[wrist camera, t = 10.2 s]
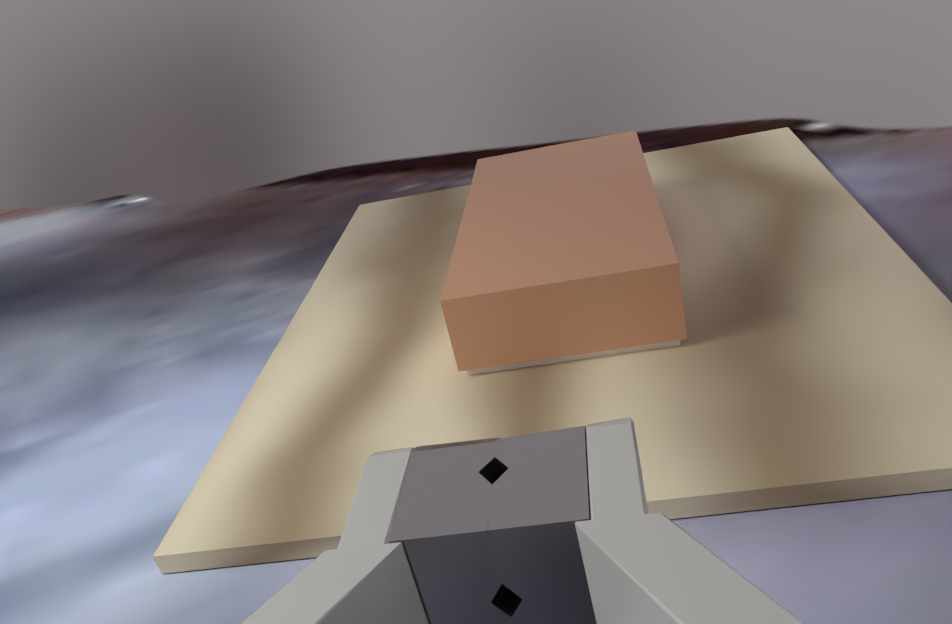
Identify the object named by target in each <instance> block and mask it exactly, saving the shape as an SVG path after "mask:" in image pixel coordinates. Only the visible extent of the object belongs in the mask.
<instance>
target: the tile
mask: <svg viewBox="0 0 952 624" xmlns="http://www.w3.org/2000/svg"><path fill="white" fill-rule="evenodd" d="M440 303H441V307H442V310H443V314H444V318H445V322H446V326H447V329H448V333H449V337H450V341H451V345H452V349H453V352H454V356H455V360H456V364H457V368H458V372H459V371H466V372H467V375H474V374H481V373H488V372H495V371H502V370H509V369H516V368H523V367H530V366H537V365H544V364H551V363H558V362H566V361H573V360H580V359H587V358H594V357H601V356H608V355H615V354H622V353H629V352H636V351H643V350H650V349H657V348H664V347H671V346H678V345H681V343H680V340H683V339H687V331H686V322H685V314H684V305H683V297H682V288H681V280H680V271H679V263H678V260H677V257H676V254H675V251H674V247H673V244H672V241H671V238H670V235H669V232H668V229H667V226H666V223H665V220H664V216H663V213H662V210H661V207H660V204H659V201H658V198H657V195H656V192H655V189H654V186H653V182H652V179H651V176H650V173H649V170H648V167H647V164H646V161H645V158H644V155H643V151H642V148H641V145H640V142H639V139H638V136H637V133H636V130H633V131H628V132H623V133H617V134H612V135H606V136H601V137H596V138H590V139H585V140H580V141H574V142H569V143H564V144H558V145H553V146H547V147H542V148H537V149H531V150H526V151H521V152H515V153H510V154H505V155H499V156H494V157H489V158H483V159H478V160H477V164H476V168H475V171H474V175H473V179H472V183H471V186H470V190H469V194H468V198H467V201H466V205H465V209H464V213H463V216H462V220H461V224H460V228H459V231H458V235H457V239H456V243H455V246H454V250H453V254H452V258H451V262H450V265H449V269H448V273H447V277H446V280H445V284H444V288H443V292H442V295H441V299H440Z"/></svg>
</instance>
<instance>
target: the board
mask: <svg viewBox="0 0 952 624" xmlns="http://www.w3.org/2000/svg"><path fill="white" fill-rule="evenodd" d="M643 155H644V158H645V161H646V164H647V167H648V170H649V173H650V176H651V179H652V182H653V186H654V189H655V192H656V195H657V198H658V201H659V204H660V207H661V210H662V213H663V216H664V220H665V223H666V226H667V229H668V232H669V235H670V238H671V241H672V244H673V247H674V251H675V254H676V257H677V260H678V263H679V271H680V280H681V288H682V297H683V305H684V314H685V322H686V331H687V339H683V340H680V343H681V345H678V346H671V347H664V348H657V349H650V350H643V351H636V352H629V353H622V354H615V355H608V356H601V357H594V358H587V359H580V360H573V361H566V362H558V363H551V364H544V365H537V366H530V367H523V368H516V369H509V370H502V371H495V372H488V373H481V374H474V375H467V372H466V371H459V372H458V368H457V364H456V360H455V356H454V352H453V349H452V345H451V341H450V337H449V333H448V329H447V326H446V322H445V318H444V314H443V310H442V307H441V303H440V299H441V295H442V292H443V288H444V284H445V280H446V277H447V273H448V269H449V265H450V262H451V258H452V254H453V250H454V246H455V243H456V239H457V235H458V231H459V228H460V224H461V220H462V216H463V213H464V209H465V205H466V201H467V198H468V194H469V190H470V186H471V185H466V186H461V187H455V188H450V189H444V190H439V191H433V192H428V193H422V194H417V195H411V196H406V197H400V198H395V199H389V200H384V201H378V202H373V203H367V204H362V205H359V207H358V209H357V210H356V212H355V214H354V215H353V217H352V219H351V220H350V222H349V224H348V226H347V227H346V229H345V231H344V232H343V234H342V236H341V237H340V239H339V241H338V243H337V244H336V246H335V248H334V249H333V251H332V253H331V254H330V256H329V258H328V260H327V261H326V263H325V265H324V266H323V268H322V270H321V272H320V273H319V275H318V277H317V278H316V280H315V282H314V283H313V285H312V287H311V289H310V290H309V292H308V294H307V295H306V297H305V299H304V300H303V302H302V304H301V306H300V307H299V309H298V311H297V312H296V314H295V316H294V317H293V319H292V321H291V323H290V324H289V326H288V328H287V329H286V331H285V333H284V334H283V336H282V338H281V340H280V341H279V343H278V345H277V346H276V348H275V350H274V351H273V353H272V355H271V357H270V358H269V360H268V362H267V363H266V365H265V367H264V368H263V370H262V372H261V374H260V375H259V377H258V379H257V380H256V382H255V384H254V385H253V387H252V389H251V391H250V392H249V394H248V396H247V397H246V399H245V401H244V403H243V404H242V406H241V408H240V409H239V411H238V413H237V414H236V416H235V418H234V420H233V421H232V423H231V425H230V426H229V428H228V430H227V431H226V433H225V435H224V437H223V438H222V440H221V442H220V443H219V445H218V447H217V448H216V450H215V452H214V454H213V455H212V457H211V459H210V460H209V462H208V464H207V465H206V467H205V469H204V471H203V472H202V474H201V476H200V477H199V479H198V481H197V482H196V484H195V486H194V488H193V489H192V491H191V493H190V494H189V496H188V498H187V499H186V501H185V503H184V505H183V506H182V508H181V510H180V511H179V513H178V515H177V516H176V518H175V520H174V522H173V523H172V525H171V527H170V528H169V530H168V532H167V534H166V535H165V537H164V539H163V540H162V542H161V544H160V545H159V547H158V549H157V551H156V552H155V554H154V556H153V558H154V560H155V562H156V564H157V566H158V568H159V570H160V572H161V574H164V573H174V572H183V571H192V570H202V569H211V568H220V567H230V566H239V565H248V564H258V563H267V562H276V561H286V560H295V559H304V558H314V557H318V556H319V555H321V554H322V553H323V552H324V551H327V550H335V549H338V546H339V543H340V540H341V537H342V534H343V531H344V527H345V524H346V521H347V518H348V515H349V512H350V509H351V506H352V503H353V500H354V497H355V494H356V491H357V488H358V485H359V482H360V479H361V475H362V472H363V469H364V466H365V463H366V460H367V459H368V457H369V456H370V455H372V454H373V453H374V452H379V451H387V450H394V449H401V448H408V447H412V448H416V447H418V446H426V445H435V444H444V443H453V442H462V441H471V440H480V439H489V438H498V437H500V438H506V437H513V436H519V435H526V434H533V433H539V432H546V431H553V430H559V429H566V428H573V427H579V426H587V424H593V423H599V422H605V421H611V420H616V419H622V418H628V417H630V418H631V419H632V420H633V421H634V426H635V433H636V439H637V445H638V451H639V457H640V463H641V469H642V475H643V481H644V488H645V494H646V500H647V506H648V512H649V514H651V513H663V514H664V515H665V516H667V517H668V518H669V519H677V518H686V517H695V516H705V515H714V514H723V513H733V512H742V511H751V510H761V509H770V508H779V507H789V506H798V505H807V504H817V503H826V502H835V501H845V500H854V499H863V498H872V497H882V496H891V495H900V494H910V493H919V492H928V491H938V490H947V489H952V303H951V302H950V301H949V299H948V298H947V297H946V296H945V295H944V294H943V293H942V292H941V291H940V290H939V289H938V288H937V287H936V286H935V284H934V283H933V282H932V281H931V280H930V279H929V278H928V277H927V276H926V275H925V274H924V273H923V272H922V270H921V269H920V268H919V267H918V266H917V265H916V264H915V263H914V262H913V261H912V260H911V259H910V258H909V257H908V255H907V254H906V253H905V252H904V251H903V250H902V249H901V248H900V247H899V246H898V245H897V244H896V243H895V242H894V240H893V239H892V238H891V237H890V236H889V235H888V234H887V233H886V232H885V231H884V230H883V229H882V228H881V227H880V225H879V224H878V223H877V222H876V221H875V220H874V219H873V218H872V217H871V216H870V215H869V214H868V213H867V211H866V210H865V209H864V208H863V207H862V206H861V205H860V204H859V203H858V202H857V201H856V200H855V199H854V198H853V196H852V195H851V194H850V193H849V192H848V191H847V190H846V189H845V188H844V187H843V186H842V185H841V184H840V183H839V181H838V180H837V179H836V178H835V177H834V176H833V175H832V174H831V173H830V172H829V171H828V170H827V169H826V167H825V166H824V165H823V164H822V163H821V162H820V161H819V160H818V159H817V158H816V157H815V156H814V155H813V154H812V152H811V151H810V150H809V149H808V148H807V147H806V146H805V145H804V144H803V143H802V142H801V141H800V140H799V139H798V137H797V136H796V135H795V134H794V133H793V132H792V131H791V130H790V129H789V128H788V127H786V128H780V129H775V130H769V131H764V132H758V133H753V134H747V135H742V136H736V137H731V138H725V139H720V140H714V141H709V142H703V143H698V144H692V145H687V146H681V147H676V148H670V149H665V150H659V151H654V152H648V153H643Z"/></svg>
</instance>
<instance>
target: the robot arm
mask: <svg viewBox="0 0 952 624" xmlns="http://www.w3.org/2000/svg"><path fill="white" fill-rule="evenodd" d="M241 624H803V623H802V622H800V621H799V620H798V619H797V618H795V617H794V616H793V615H791V614H790V613H789V612H788V611H786V610H785V609H784V608H783V607H781V606H780V605H779V604H777V603H776V602H775V601H774V600H772V599H771V598H770V597H769V596H767V595H766V594H765V593H763V592H762V591H761V590H760V589H758V588H757V587H756V586H754V585H753V584H752V583H751V582H749V581H748V580H747V579H746V578H744V577H743V576H742V575H740V574H739V573H738V572H737V571H735V570H734V569H733V568H732V567H730V566H729V565H728V564H726V563H725V562H724V561H723V560H721V559H720V558H719V557H718V556H716V555H715V554H714V553H712V552H711V551H710V550H709V549H707V548H706V547H705V546H703V545H702V544H701V543H700V542H698V541H697V540H696V539H695V538H693V537H692V536H691V535H689V534H688V533H687V532H686V531H684V530H683V529H682V528H681V527H679V526H678V525H677V524H675V523H674V522H673V521H672V520H670V519H669V518H668V517H667V516H665V515H664V514H663V513H651V514H649V512H648V506H647V500H646V494H645V488H644V481H643V475H642V469H641V463H640V457H639V451H638V445H637V439H636V433H635V426H634V421H633V420H632V419H631V418H630V417H628V418H622V419H616V420H611V421H605V422H599V423H593V424H587V426H579V427H573V428H566V429H559V430H553V431H546V432H539V433H533V434H526V435H519V436H513V437H506V438H500V437H498V438H489V439H480V440H471V441H462V442H453V443H444V444H435V445H426V446H418V447H416V448H412V447H408V448H401V449H394V450H387V451H379V452H374V453H373V454H372V455H370V456H369V457H368V459H367V460H366V463H365V466H364V469H363V472H362V475H361V479H360V482H359V485H358V488H357V491H356V494H355V497H354V500H353V503H352V506H351V509H350V512H349V515H348V518H347V521H346V524H345V527H344V531H343V534H342V537H341V540H340V543H339V546H338V549H335V550H327V551H324V552H323V553H322V554H321V555H319V556H318V557H317V558H316V559H315V560H314V561H312V562H311V563H310V564H309V565H308V566H307V567H306V568H304V569H303V570H302V571H301V572H300V573H299V574H298V575H296V576H295V577H294V578H293V579H292V580H291V581H289V582H288V583H287V584H286V585H285V586H284V587H283V588H281V589H280V590H279V591H278V592H277V593H276V594H274V595H273V596H272V597H271V598H270V599H269V600H268V601H266V602H265V603H264V604H263V605H262V606H261V607H260V608H258V609H257V610H256V611H255V612H254V613H253V614H251V615H250V616H249V617H248V618H247V619H246V620H245V621H243V622H242V623H241Z"/></svg>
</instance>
